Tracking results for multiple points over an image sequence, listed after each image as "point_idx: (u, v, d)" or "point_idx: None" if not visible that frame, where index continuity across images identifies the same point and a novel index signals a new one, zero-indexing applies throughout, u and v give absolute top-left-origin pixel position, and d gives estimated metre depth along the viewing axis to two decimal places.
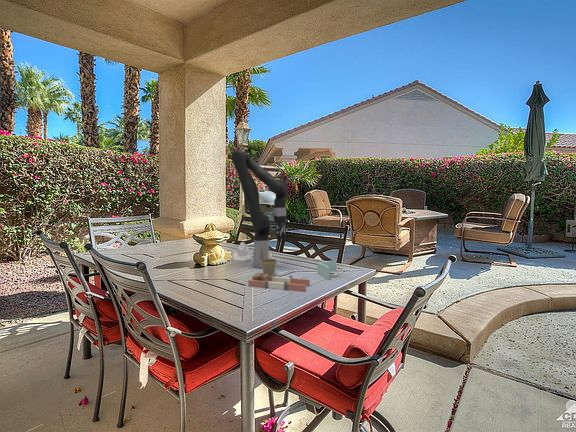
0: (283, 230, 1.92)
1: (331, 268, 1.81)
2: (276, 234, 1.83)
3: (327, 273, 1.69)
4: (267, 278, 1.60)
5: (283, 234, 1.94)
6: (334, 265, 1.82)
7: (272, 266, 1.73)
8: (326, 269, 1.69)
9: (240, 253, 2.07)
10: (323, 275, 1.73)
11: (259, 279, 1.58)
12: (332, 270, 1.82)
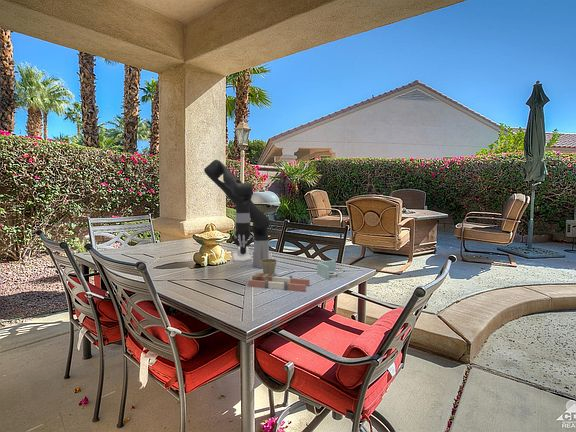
0: None
1: (330, 268, 1.82)
2: (248, 245, 1.60)
3: (326, 273, 1.69)
4: (267, 279, 1.60)
5: None
6: (333, 265, 1.82)
7: (272, 266, 1.73)
8: (325, 269, 1.70)
9: (240, 253, 2.07)
10: (322, 275, 1.73)
11: (259, 279, 1.58)
12: (331, 270, 1.82)
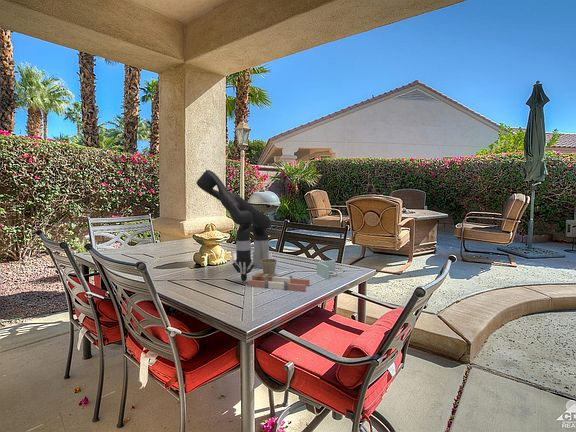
0: None
1: (330, 268, 1.82)
2: (248, 271, 1.61)
3: (326, 273, 1.69)
4: (267, 279, 1.60)
5: None
6: (333, 265, 1.83)
7: (272, 266, 1.73)
8: (325, 269, 1.70)
9: None
10: (322, 275, 1.74)
11: (259, 279, 1.58)
12: (331, 270, 1.82)
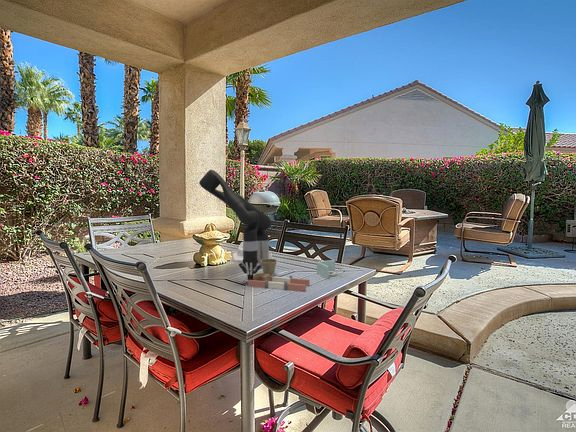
0: None
1: (330, 268, 1.82)
2: (255, 272, 1.60)
3: (326, 272, 1.70)
4: (268, 279, 1.60)
5: None
6: (333, 265, 1.83)
7: (272, 266, 1.73)
8: (325, 268, 1.71)
9: (240, 253, 2.07)
10: (322, 274, 1.74)
11: (259, 279, 1.58)
12: (331, 270, 1.83)
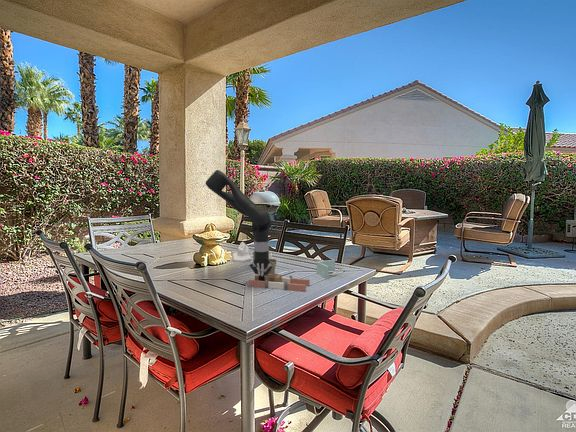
0: None
1: (330, 267, 1.83)
2: (266, 273, 1.58)
3: (326, 272, 1.70)
4: (279, 279, 1.58)
5: None
6: (333, 264, 1.83)
7: None
8: (325, 268, 1.71)
9: (240, 253, 2.07)
10: (322, 274, 1.74)
11: (271, 280, 1.56)
12: (331, 269, 1.83)
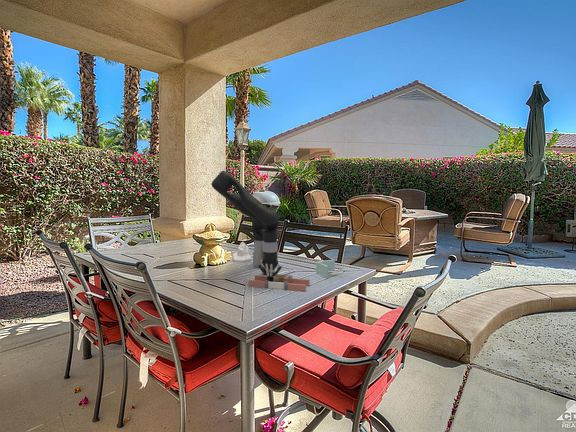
0: None
1: (330, 267, 1.83)
2: (275, 274, 1.57)
3: (325, 272, 1.70)
4: (288, 280, 1.57)
5: None
6: (333, 264, 1.84)
7: None
8: (324, 268, 1.71)
9: (240, 253, 2.07)
10: (322, 274, 1.74)
11: (281, 280, 1.55)
12: (331, 269, 1.83)
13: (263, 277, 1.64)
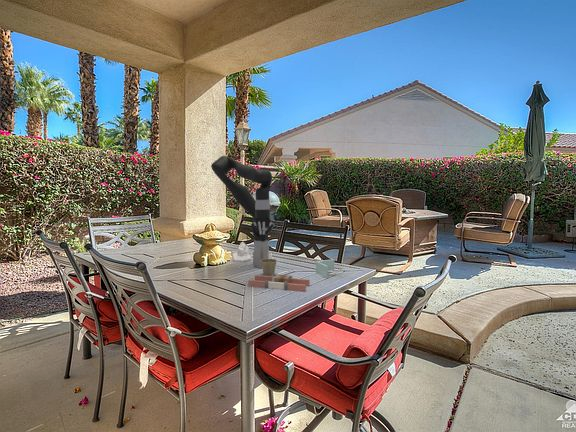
0: None
1: (329, 267, 1.83)
2: None
3: (325, 272, 1.71)
4: (289, 280, 1.57)
5: None
6: (332, 264, 1.84)
7: (272, 266, 1.73)
8: (324, 268, 1.72)
9: (240, 253, 2.07)
10: (321, 274, 1.75)
11: (281, 281, 1.55)
12: (330, 269, 1.84)
13: (263, 277, 1.64)
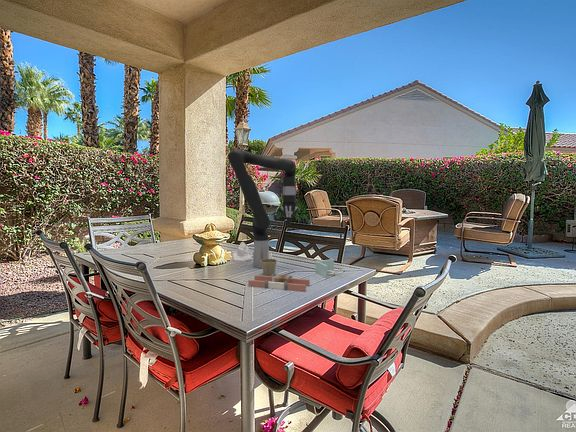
0: (288, 211, 1.82)
1: (329, 267, 1.84)
2: (294, 215, 1.80)
3: (325, 272, 1.71)
4: (289, 280, 1.57)
5: None
6: (332, 264, 1.85)
7: (272, 266, 1.73)
8: (324, 268, 1.72)
9: (240, 253, 2.07)
10: (321, 274, 1.75)
11: (281, 281, 1.55)
12: (330, 269, 1.84)
13: (263, 277, 1.64)
